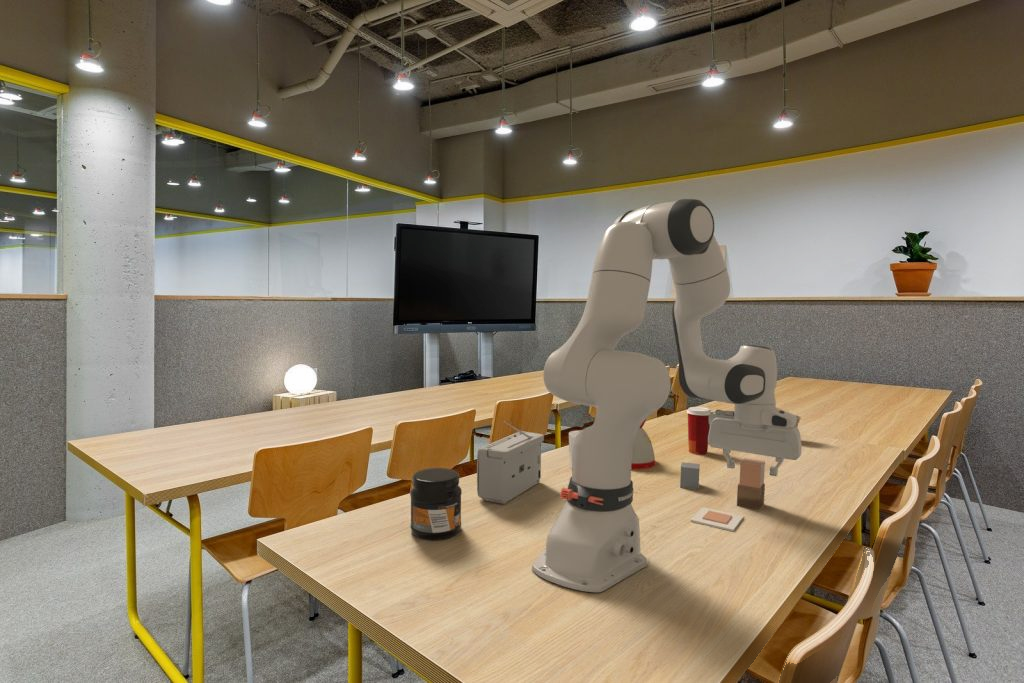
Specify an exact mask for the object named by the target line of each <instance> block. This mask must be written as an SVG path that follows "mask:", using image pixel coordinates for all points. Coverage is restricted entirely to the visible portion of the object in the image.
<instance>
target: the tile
mask: <svg viewBox="0 0 1024 683" xmlns="http://www.w3.org/2000/svg"><path fill="white" fill-rule="evenodd" d="M743 519H744V516H743V515H740V514H735V513H731V512H726V511H721V510H718V509H714V508H713V509H711V508H708V507H703V506H702V507H701V508H700V509H699V510H698V511H697V512H696V513H695V514H694V516H692V517H691V518H690V519H689V520H690V521H689V522H691V523H696V524H701V525H703V526H708V527H713V528H718V529H722V530H725V531H729V532H734V531H735V530H736V529H737V527H738V526H739V524H740V523H741V522H742V521H743Z"/></svg>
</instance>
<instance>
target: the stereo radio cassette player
mask: <svg viewBox="0 0 1024 683" xmlns="http://www.w3.org/2000/svg"><path fill="white" fill-rule="evenodd" d="M502 423H504V424H506V425H507V426H509V427H510V428H512V429H513V430H515V431H516V432H515V433H512V434H510V435H508V436H505V437H503V438H501V439H498V440H496V441H494V442H490V443H489V444H486V445H484V446H481V447H479V448H478V450H477V455H476V456H477V457H476V458H477V459H476V460H477V461H476V491H477V497H478V498H480V499H481V500H483V501H484V502H485V501H487V502H491V503H497V504H501V505H505V504H506V503H508V502H509V501H510V500H513V499H514V498H516V497H518V496H519V495H521V494H523V493H524V492H526V491H527V490H529V489H530V488H532V487H534V486H536V485H538V484H539V483H540V480H541V477H542V474H541V473H542V471H541V470H542V443H543V442H545V441H544V439H545V436H544V434H542V433H536V432H529V431H523V430H520V429H518V428H516V427H515V426H513V425H511V424H510V423H508V422H506V421H505V420H502Z"/></svg>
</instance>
